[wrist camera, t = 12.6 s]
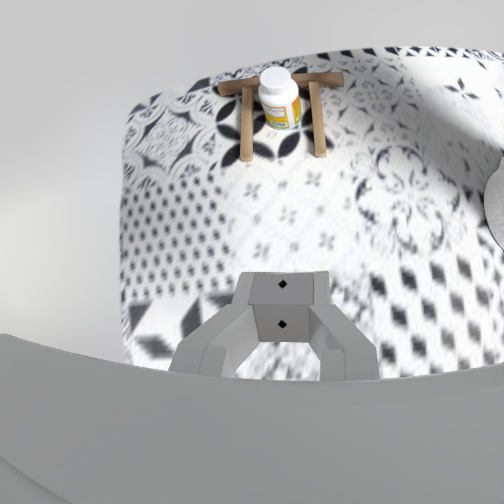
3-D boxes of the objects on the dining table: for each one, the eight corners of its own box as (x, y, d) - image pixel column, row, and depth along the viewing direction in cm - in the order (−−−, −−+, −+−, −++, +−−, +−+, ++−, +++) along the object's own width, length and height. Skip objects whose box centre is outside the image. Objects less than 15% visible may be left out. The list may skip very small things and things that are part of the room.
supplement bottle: (290, 98, 44) (283, 57, 35) (308, 121, 43) (304, 81, 34) (260, 112, 45) (247, 73, 36) (276, 137, 44) (265, 98, 34)
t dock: (341, 80, 43) (342, 72, 41) (354, 156, 41) (355, 150, 39) (221, 89, 47) (218, 82, 45) (216, 164, 45) (211, 158, 43)
